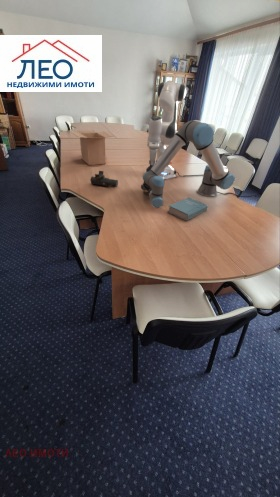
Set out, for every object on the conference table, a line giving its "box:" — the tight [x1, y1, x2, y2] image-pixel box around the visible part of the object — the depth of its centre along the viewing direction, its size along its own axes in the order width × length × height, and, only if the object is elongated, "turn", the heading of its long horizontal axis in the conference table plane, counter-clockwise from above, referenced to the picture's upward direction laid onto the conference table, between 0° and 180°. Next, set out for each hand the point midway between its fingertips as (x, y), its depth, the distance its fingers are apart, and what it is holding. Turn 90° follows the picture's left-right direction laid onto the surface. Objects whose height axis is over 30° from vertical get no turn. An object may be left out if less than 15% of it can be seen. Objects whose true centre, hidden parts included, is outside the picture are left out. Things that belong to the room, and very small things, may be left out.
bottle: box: [144, 164, 154, 196], centre depth 169 cm, size 8×8×24 cm
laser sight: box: [89, 170, 119, 188], centre depth 180 cm, size 10×22×10 cm, turn 78°
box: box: [70, 129, 114, 166], centre depth 229 cm, size 44×36×27 cm
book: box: [167, 196, 208, 222], centre depth 151 cm, size 23×16×5 cm
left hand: (151, 163), depth 163 cm, fingers closed on cap, 4 cm apart
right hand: (149, 182), depth 176 cm, fingers closed on bottle, 8 cm apart
